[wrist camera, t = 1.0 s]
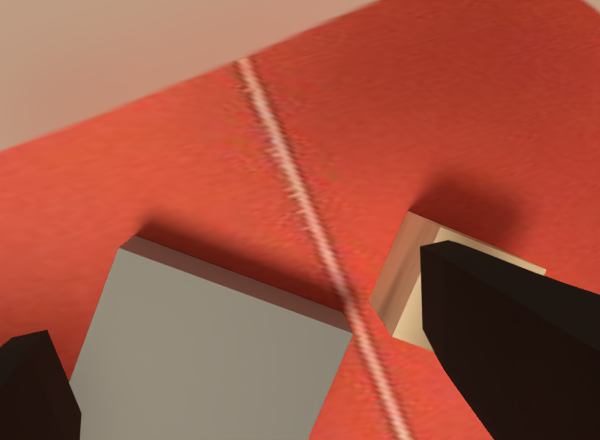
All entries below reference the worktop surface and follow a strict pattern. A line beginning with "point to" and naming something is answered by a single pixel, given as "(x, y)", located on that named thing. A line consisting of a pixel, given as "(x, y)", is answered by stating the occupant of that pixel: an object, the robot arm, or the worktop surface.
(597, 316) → the robot arm
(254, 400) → the slate pedestal
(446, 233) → the birch cube
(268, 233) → the worktop surface
